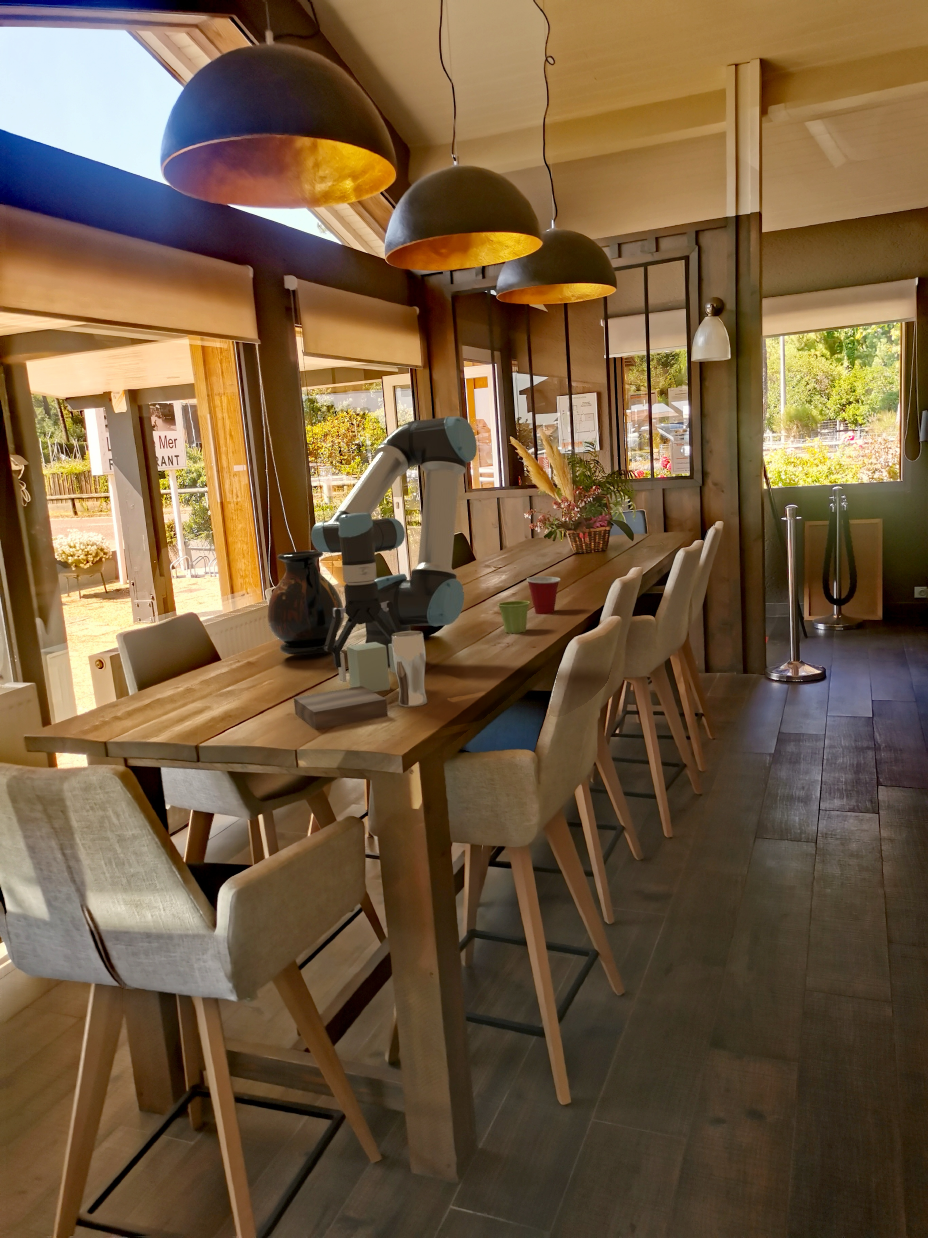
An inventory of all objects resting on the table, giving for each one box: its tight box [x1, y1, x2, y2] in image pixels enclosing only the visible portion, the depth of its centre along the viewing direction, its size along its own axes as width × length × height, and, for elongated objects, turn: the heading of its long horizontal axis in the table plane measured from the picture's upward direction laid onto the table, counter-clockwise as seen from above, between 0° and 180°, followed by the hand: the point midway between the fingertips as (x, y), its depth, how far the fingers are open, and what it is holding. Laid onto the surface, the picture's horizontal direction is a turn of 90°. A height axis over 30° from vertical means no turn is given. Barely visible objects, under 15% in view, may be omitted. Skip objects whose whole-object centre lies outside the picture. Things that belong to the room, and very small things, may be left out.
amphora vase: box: [267, 550, 345, 656], centre depth 265 cm, size 22×22×28 cm
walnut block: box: [293, 686, 388, 731], centre depth 191 cm, size 15×15×4 cm
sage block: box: [346, 642, 391, 693], centre depth 212 cm, size 7×7×10 cm
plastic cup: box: [526, 575, 561, 615], centre depth 298 cm, size 11×11×12 cm
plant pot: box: [497, 600, 531, 634], centre depth 271 cm, size 9×9×9 cm
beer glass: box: [392, 630, 428, 708], centre depth 196 cm, size 7×7×15 cm
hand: (368, 676), depth 213 cm, fingers open, 12 cm apart
